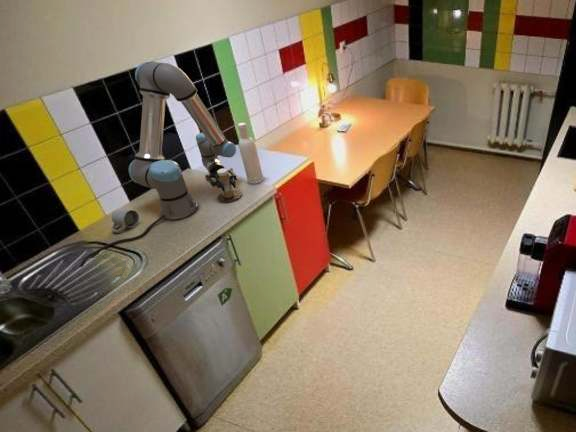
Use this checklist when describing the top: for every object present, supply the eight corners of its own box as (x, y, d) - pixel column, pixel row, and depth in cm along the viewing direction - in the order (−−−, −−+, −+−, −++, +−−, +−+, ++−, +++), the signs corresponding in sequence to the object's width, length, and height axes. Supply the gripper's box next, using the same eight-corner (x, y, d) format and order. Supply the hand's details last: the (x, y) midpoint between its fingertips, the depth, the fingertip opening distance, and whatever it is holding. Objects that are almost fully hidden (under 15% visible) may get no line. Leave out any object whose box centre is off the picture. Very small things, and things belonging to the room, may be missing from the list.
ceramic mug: (127, 219, 187) (120, 204, 182) (142, 221, 184) (135, 206, 180) (108, 232, 178) (100, 217, 174) (123, 235, 176) (115, 220, 172)
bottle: (266, 176, 215) (253, 120, 199) (260, 184, 208) (246, 126, 192) (251, 176, 216) (237, 120, 200) (245, 183, 210) (230, 126, 194)
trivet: (222, 205, 192) (221, 204, 192) (214, 196, 200) (214, 195, 200) (245, 197, 198) (244, 196, 197) (236, 189, 205) (236, 187, 205)
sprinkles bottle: (222, 197, 198) (214, 171, 190) (229, 192, 201) (221, 167, 194) (229, 198, 196) (222, 173, 189) (236, 194, 199) (229, 168, 192)
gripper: (235, 171, 214) (249, 188, 197) (200, 181, 206) (211, 200, 189) (231, 157, 210) (245, 174, 193) (195, 167, 202) (207, 185, 185)
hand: (228, 187), depth 191 cm, fingers closed on sprinkles bottle, 4 cm apart
